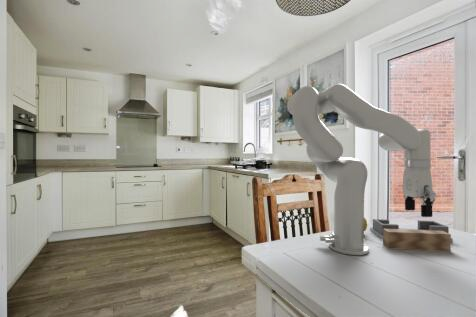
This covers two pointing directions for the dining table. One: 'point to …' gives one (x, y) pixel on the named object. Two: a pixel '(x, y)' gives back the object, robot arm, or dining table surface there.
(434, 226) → the grey stand
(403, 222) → the dining table surface
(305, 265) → the dining table surface
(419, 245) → the slat
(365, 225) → the lemon
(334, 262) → the dining table surface
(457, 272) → the dining table surface
